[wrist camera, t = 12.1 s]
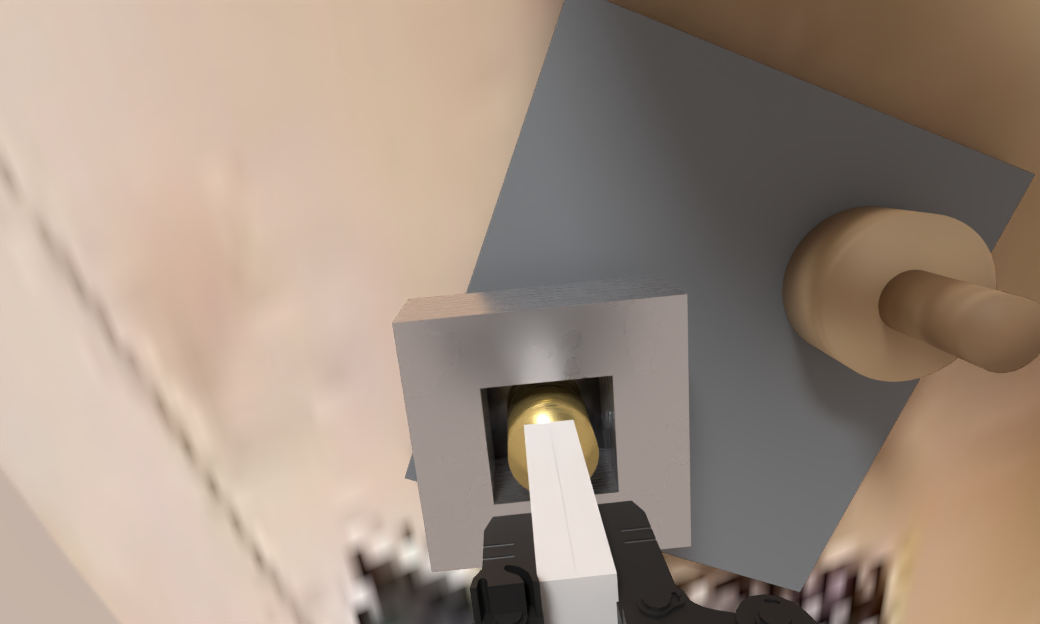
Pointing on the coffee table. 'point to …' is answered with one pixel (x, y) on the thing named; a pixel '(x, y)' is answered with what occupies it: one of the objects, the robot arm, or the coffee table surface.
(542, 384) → the cylinder
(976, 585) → the coffee table surface
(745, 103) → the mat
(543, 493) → the robot arm
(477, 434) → the square hole frame
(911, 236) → the stand
